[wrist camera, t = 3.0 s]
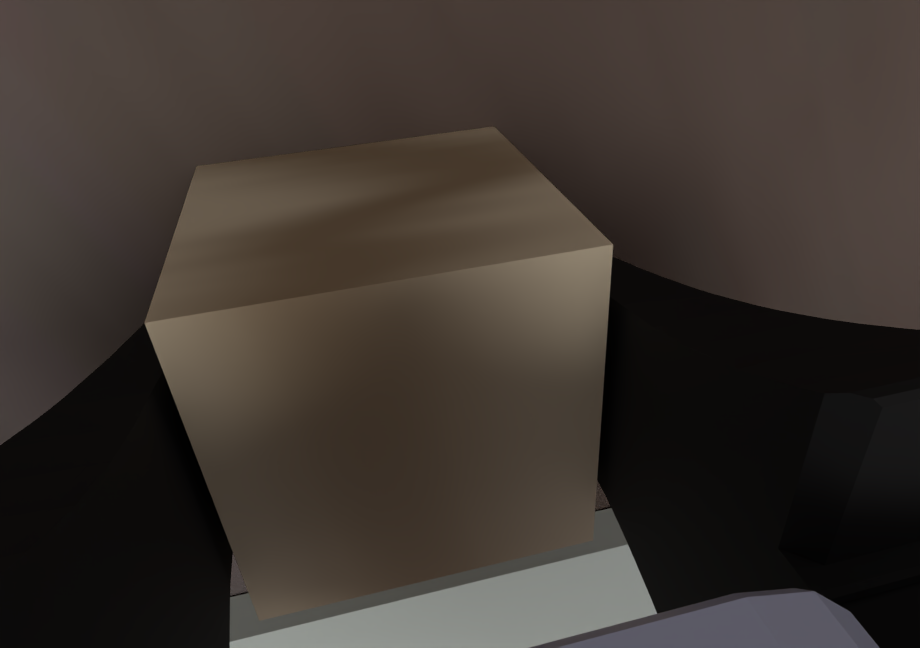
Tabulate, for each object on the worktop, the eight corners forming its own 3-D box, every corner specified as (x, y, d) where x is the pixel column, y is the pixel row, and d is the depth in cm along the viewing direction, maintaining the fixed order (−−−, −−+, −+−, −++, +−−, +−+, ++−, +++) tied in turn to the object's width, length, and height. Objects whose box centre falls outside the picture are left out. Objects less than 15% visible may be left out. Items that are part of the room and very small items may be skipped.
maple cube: (492, 125, 11) (613, 244, 7) (501, 357, 14) (592, 539, 10) (196, 164, 11) (144, 322, 7) (266, 402, 13) (259, 620, 9)
